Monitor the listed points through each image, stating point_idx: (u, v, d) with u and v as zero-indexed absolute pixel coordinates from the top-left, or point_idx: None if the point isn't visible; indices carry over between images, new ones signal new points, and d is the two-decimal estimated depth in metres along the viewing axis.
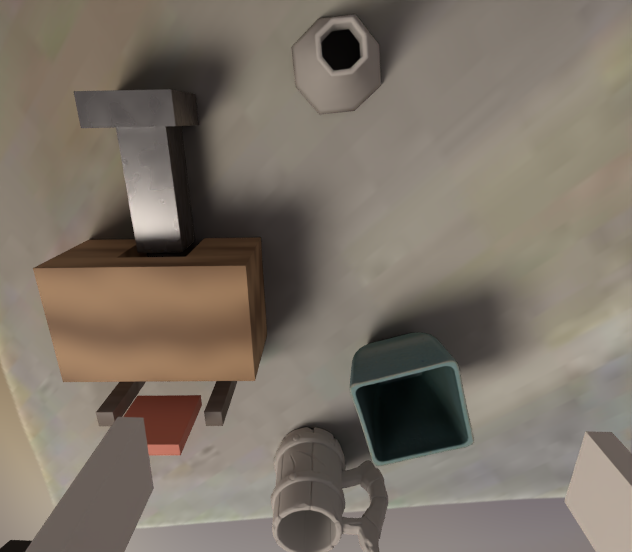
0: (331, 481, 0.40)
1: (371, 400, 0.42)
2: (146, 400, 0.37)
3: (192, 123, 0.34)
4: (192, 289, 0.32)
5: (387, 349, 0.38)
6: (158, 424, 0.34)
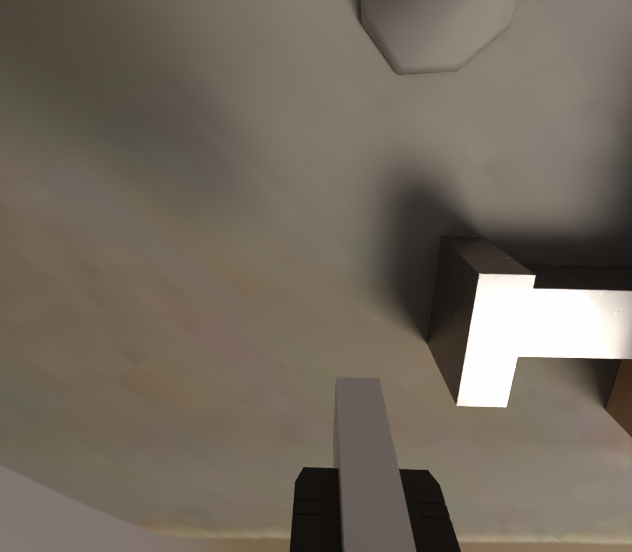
0: None
1: None
2: None
3: (494, 246, 0.22)
4: None
5: None
6: None
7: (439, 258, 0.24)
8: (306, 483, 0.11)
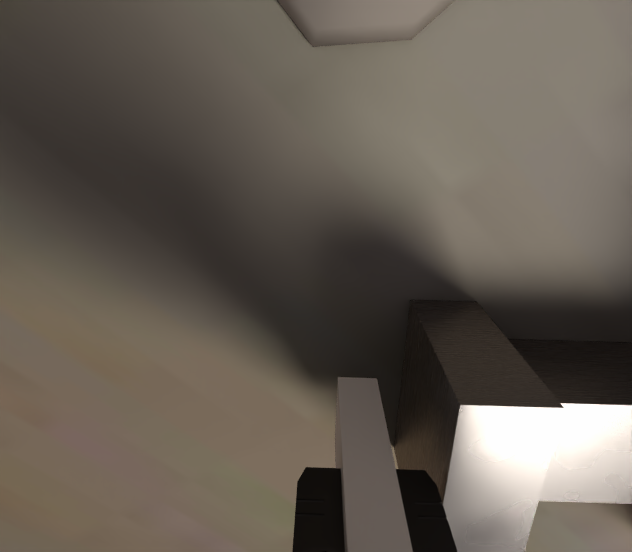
0: None
1: None
2: None
3: (490, 324, 0.14)
4: None
5: None
6: None
7: (408, 333, 0.16)
8: (308, 482, 0.11)
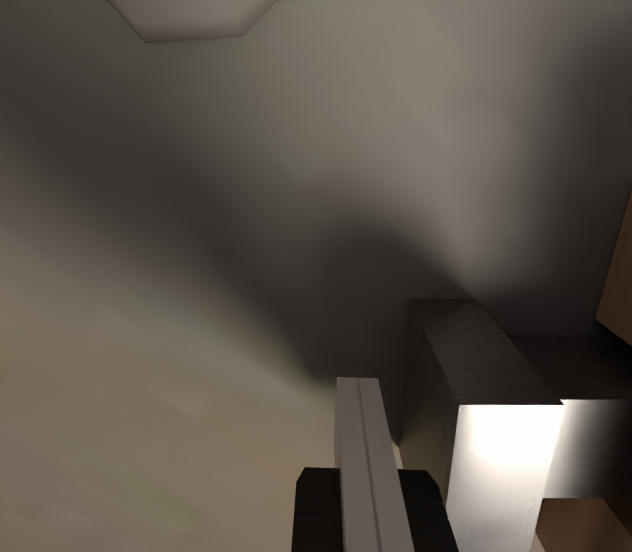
0: None
1: None
2: None
3: (490, 322, 0.14)
4: None
5: None
6: None
7: (408, 333, 0.16)
8: (307, 483, 0.11)
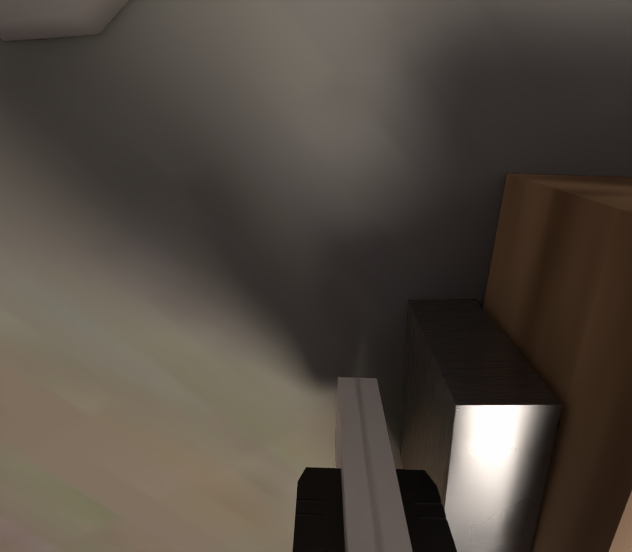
0: None
1: None
2: None
3: (489, 322, 0.14)
4: None
5: None
6: None
7: (407, 334, 0.16)
8: (309, 483, 0.11)
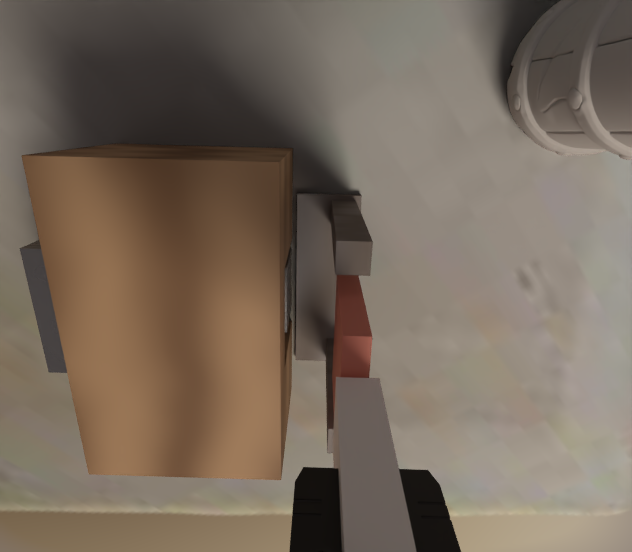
0: None
1: None
2: (333, 365, 0.21)
3: None
4: (87, 258, 0.18)
5: None
6: (337, 360, 0.17)
7: None
8: (306, 483, 0.11)
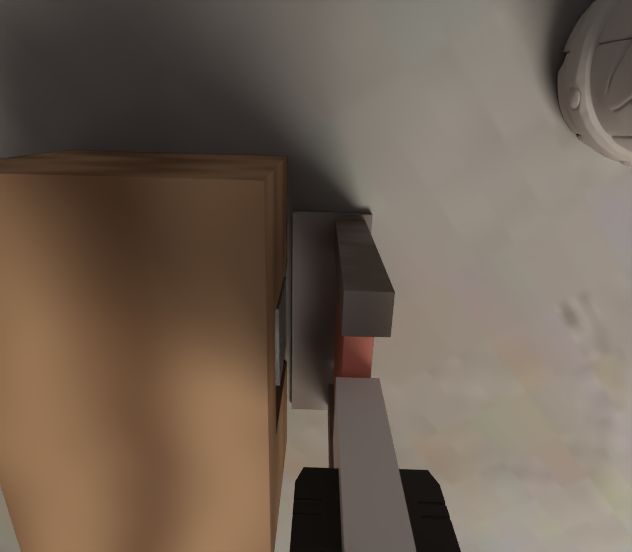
0: None
1: None
2: (334, 365, 0.21)
3: None
4: (5, 309, 0.13)
5: None
6: (338, 360, 0.17)
7: None
8: (306, 483, 0.11)
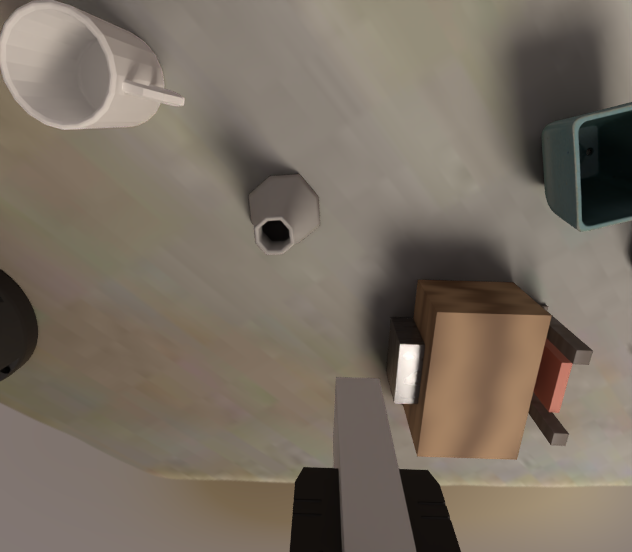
0: None
1: (612, 189, 0.38)
2: None
3: (414, 325, 0.45)
4: (452, 354, 0.39)
5: (551, 177, 0.36)
6: (544, 370, 0.42)
7: (390, 328, 0.47)
8: (306, 483, 0.11)
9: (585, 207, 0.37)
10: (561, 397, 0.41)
